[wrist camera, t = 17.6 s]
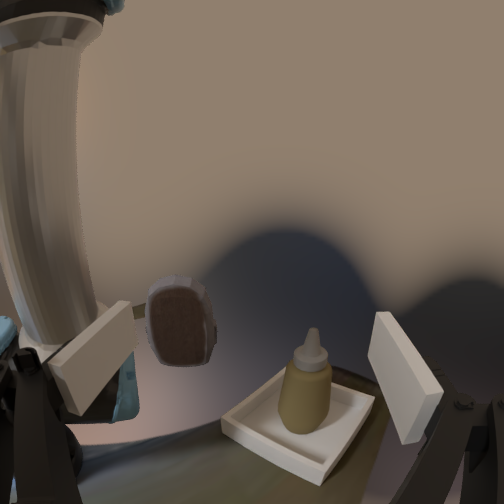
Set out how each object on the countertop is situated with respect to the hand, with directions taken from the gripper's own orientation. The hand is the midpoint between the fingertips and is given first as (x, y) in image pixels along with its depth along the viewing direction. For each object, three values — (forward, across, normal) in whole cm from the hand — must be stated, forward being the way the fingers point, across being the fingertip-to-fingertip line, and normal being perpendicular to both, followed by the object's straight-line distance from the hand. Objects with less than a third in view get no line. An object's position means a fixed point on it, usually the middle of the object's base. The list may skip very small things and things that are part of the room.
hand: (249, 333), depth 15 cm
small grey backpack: (+38, -18, -30) cm, 52 cm away
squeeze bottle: (+20, +6, -29) cm, 36 cm away
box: (+20, +6, -30) cm, 37 cm away
